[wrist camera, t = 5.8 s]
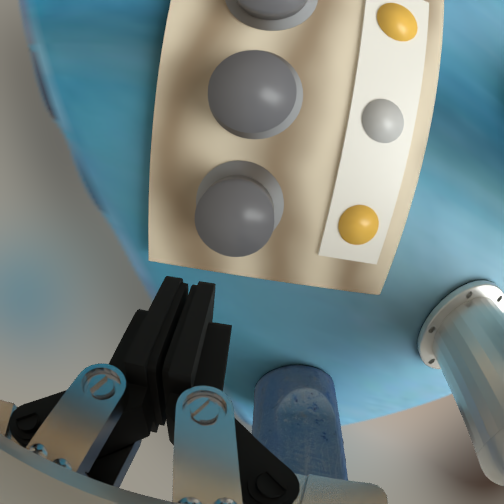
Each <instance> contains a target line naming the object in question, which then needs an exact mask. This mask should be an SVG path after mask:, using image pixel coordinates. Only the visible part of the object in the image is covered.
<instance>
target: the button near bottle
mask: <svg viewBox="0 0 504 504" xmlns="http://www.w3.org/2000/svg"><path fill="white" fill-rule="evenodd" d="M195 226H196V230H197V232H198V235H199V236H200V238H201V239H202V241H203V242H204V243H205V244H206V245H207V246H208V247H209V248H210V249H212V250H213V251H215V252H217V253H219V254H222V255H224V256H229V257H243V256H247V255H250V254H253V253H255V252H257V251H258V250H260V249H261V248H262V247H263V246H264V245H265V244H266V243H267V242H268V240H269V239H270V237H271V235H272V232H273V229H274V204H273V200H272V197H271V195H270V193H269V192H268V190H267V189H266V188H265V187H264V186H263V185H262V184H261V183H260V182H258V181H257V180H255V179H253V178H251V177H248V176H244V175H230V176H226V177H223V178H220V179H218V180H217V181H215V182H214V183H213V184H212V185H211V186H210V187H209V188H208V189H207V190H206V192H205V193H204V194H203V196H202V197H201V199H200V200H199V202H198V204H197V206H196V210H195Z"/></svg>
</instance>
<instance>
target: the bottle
mask: <svg viewBox="0 0 504 504" xmlns="http://www.w3.org/2000/svg"><path fill="white" fill-rule="evenodd" d="M252 435H253V436H254V437H255V438H256V439H257V440H258V441H259V442H260V443H262V444H263V445H264V446H265V447H266V448H267V449H268V450H269V451H270V452H271V453H273V454H274V455H275V456H276V457H277V458H278V459H279V460H280V461H282V462H283V463H284V464H285V465H286V466H287V467H289V468H290V469H291V470H292V471H293V472H294V473H295V474H300V475H305V476H308V475H309V474H312V475H317V476H322V477H328V478H334V479H341V480H348V477H347V469H346V459H345V454H344V448H343V443H344V442H343V439H342V433H341V425H340V419H339V413H338V406H337V400H336V393H335V388H334V383H333V380H332V378H331V377H330V375H328V374H326V373H325V372H324V371H322V370H320V369H317V368H315V367H310V366H304V365H293V366H284V367H281V368H277V369H275V370H273V371H271V372H269V373H267V374H266V375H264V376H263V377H262V378H261V379H260V380H259V381H258V383H257V384H256V387H255V391H254V411H253V425H252Z"/></svg>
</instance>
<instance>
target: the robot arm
mask: <svg viewBox="0 0 504 504" xmlns="http://www.w3.org/2000/svg"><path fill="white" fill-rule="evenodd" d="M214 296H215V284H214V283H207V282H201V281H199V283H198V285H192V286H191V289H190V292H189V294H188V284H186V283H183V279H182V278H176V277H170V276H166V277H165V279H164V281H163V283H162V285H161V287H160V289H159V290H158V292H157V294H156V296H155V298H154V300H153V302H152V304H151V306H150V308H149V311H145V310H140V309H139V310H137V312H136V313H135V315H134V317H133V318H132V320H131V322H130V324H129V326H128V328H127V330H126V332H125V333H124V335H123V338H122V339H121V341H120V343H119V345H118V347H117V349H116V351H115V353H114V355H113V357H112V359H111V361H110V363H109V364H95V365H91V366H89V367H87V368H85V369H84V370H83V371H82V372H81V373H80V374H79V375H78V377H77V378H76V379H75V381H74V382H73V383H72V384H71V386H70V387H69V388H68V389H67V390H66V391H63V392H60V393H57V394H54V395H51V396H48V397H45V398H42V399H39V400H36V401H33V402H30V403H27V404H24V405H21V406H19V407H16V406H15V404H14V403H10V402H6V401H2V400H0V504H388V501H387V495H386V493H385V492H384V490H383V489H382V488H380V487H379V486H378V485H375V484H371V483H364V482H355V481H348V480H341V479H334V478H328V477H322V476H317V475H312V474H309V475H308V476H305V475H300V474H295V473H294V472H293V471H292V470H291V469H290V468H289V467H287V466H286V465H285V464H284V463H283V462H282V461H280V460H279V459H278V458H277V457H276V456H275V455H274V454H273V453H271V452H270V451H269V450H268V449H267V448H266V447H265V446H264V445H263V444H262V443H260V442H259V441H258V440H257V439H256V438H255V437H254V436H253V435H252V434H251V433H250V432H249V431H248V430H247V429H246V428H245V427H244V426H243V425H241V424H240V423H239V422H238V421H237V420H236V419H235V418H234V408H233V405H232V401H231V400H230V398H229V397H228V396H227V395H226V394H225V393H224V392H223V385H224V378H225V371H226V364H227V357H228V350H229V343H230V335H231V328H232V325H226V324H219V323H213V322H212V319H213V308H214ZM418 351H419V354H420V356H421V358H422V360H423V362H424V363H425V364H426V365H427V366H429V367H431V368H435V369H441V370H442V372H443V374H444V376H445V378H446V381H447V383H448V385H449V387H450V389H451V392H452V394H453V396H454V398H455V401H456V403H457V405H458V408H459V410H460V413H461V415H462V417H463V420H464V422H465V425H466V427H467V430H468V433H469V435H470V438H471V440H472V443H473V445H474V448H475V452H476V454H477V457H478V460H479V463H480V466H481V468H482V470H483V472H484V474H485V475H486V476H487V477H488V478H489V479H490V480H491V481H493V482H495V483H497V484H499V485H502V486H504V293H503V292H502V290H501V289H500V288H499V287H498V286H497V285H496V284H494V283H492V282H491V281H485V280H481V281H474V282H471V283H467V284H465V285H463V286H461V287H459V288H458V289H456V290H455V291H453V292H452V293H450V294H449V295H448V296H446V297H445V298H444V299H443V300H442V301H441V302H440V303H439V304H438V305H437V306H436V307H435V308H434V309H433V311H432V312H431V313H430V315H429V316H428V317H427V319H426V321H425V322H424V324H423V326H422V328H421V331H420V333H419V337H418ZM166 420H167V427H168V433H169V440H170V442H171V443H172V444H173V445H174V455H173V494H172V495H173V496H172V499H173V500H172V502H169V501H165V500H161V499H157V498H153V497H148V496H145V495H141V494H137V493H134V492H130V491H127V490H124V489H120V488H119V487H120V485H121V483H122V481H123V479H124V476H125V475H126V472H127V471H128V469H129V467H130V465H131V463H132V461H133V459H134V457H135V454H136V452H137V451H138V449H139V447H140V444H141V440H142V439H143V438H145V437H148V436H149V435H150V432H151V431H152V432H157V430H158V426H159V425H164V424H165V422H166Z"/></svg>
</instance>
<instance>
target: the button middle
mask: <svg viewBox="0 0 504 504" xmlns="http://www.w3.org/2000/svg"><path fill="white" fill-rule="evenodd" d="M296 94H297V88H296V82H295V79H294V76H293V74H292V72H291V71H290V69H289V68H288V66H287V65H286V64H285V63H284V62H283V61H282V60H280V59H279V58H277V57H276V56H274V55H272V54H270V53H267V52H263V51H258V50H247V51H241V52H238V53H235V54H233V55H231V56H229V57H227V58H226V59H224V60H223V61H222V62H221V63H220V64H219V65H218V66H217V67H216V68H215V70H214V71H213V73H212V75H211V78H210V80H209V84H208V99H209V103H210V106H211V109H212V110H213V112H214V114H215V115H216V117H217V118H218V119H219V120H220V121H221V122H222V123H224V124H225V125H226V126H228V127H230V128H232V129H234V130H236V131H240V132H244V133H260V132H264V131H268V130H270V129H272V128H274V127H276V126H278V125H279V124H281V123H282V122H283V121H284V120H285V119H286V118H287V117H288V115H289V114H290V113H291V111H292V109H293V107H294V104H295V101H296Z"/></svg>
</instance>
